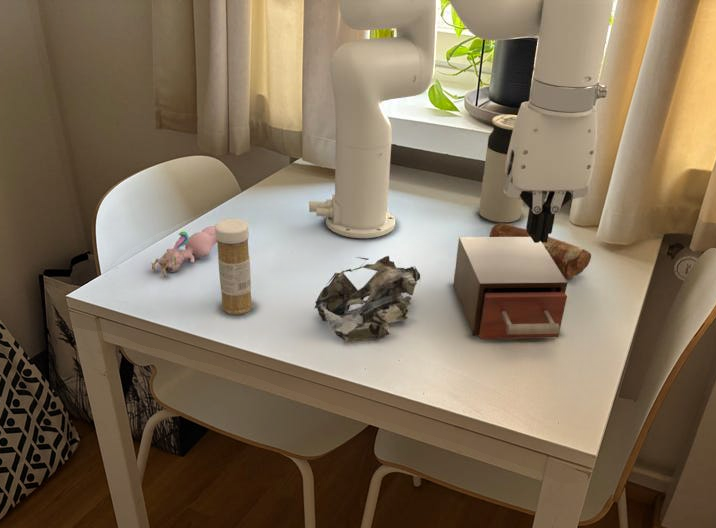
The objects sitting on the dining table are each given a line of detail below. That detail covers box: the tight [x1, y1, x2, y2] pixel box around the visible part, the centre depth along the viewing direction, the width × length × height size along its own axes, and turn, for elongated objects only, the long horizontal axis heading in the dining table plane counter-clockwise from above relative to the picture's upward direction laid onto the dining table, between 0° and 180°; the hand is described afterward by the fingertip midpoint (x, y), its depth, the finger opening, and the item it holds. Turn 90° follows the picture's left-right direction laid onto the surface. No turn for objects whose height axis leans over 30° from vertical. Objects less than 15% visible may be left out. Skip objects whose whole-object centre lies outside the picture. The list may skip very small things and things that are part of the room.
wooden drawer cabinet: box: [452, 236, 568, 337], centre depth 114 cm, size 15×13×9 cm
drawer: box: [478, 288, 568, 340], centre depth 110 cm, size 18×11×7 cm, turn 7°
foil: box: [314, 255, 421, 343], centre depth 110 cm, size 12×11×15 cm
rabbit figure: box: [150, 225, 217, 276], centre depth 123 cm, size 6×6×15 cm
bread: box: [488, 222, 592, 280], centre depth 129 cm, size 6×19×6 cm, turn 41°
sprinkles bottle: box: [214, 218, 253, 316], centre depth 109 cm, size 5×5×13 cm
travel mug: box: [478, 114, 524, 224], centre depth 141 cm, size 8×8×18 cm
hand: (537, 238), depth 100 cm, fingers closed
